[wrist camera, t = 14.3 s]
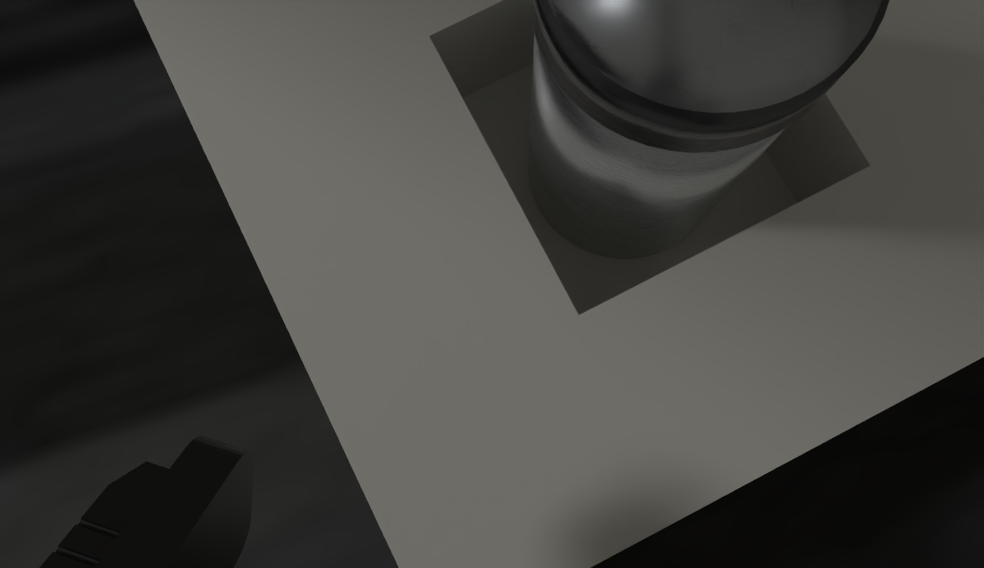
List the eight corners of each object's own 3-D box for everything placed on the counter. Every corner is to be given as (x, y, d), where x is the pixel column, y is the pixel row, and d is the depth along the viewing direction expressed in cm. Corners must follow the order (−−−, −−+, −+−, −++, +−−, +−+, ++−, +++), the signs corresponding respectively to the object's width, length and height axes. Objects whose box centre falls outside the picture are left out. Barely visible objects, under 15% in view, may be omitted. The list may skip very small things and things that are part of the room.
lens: (490, 126, 22) (469, -118, 12) (661, 41, 22) (775, -265, 12) (582, 297, 21) (642, 182, 11) (759, 206, 21) (965, 17, 12)
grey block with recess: (215, 87, 25) (123, -24, 19) (742, -164, 26) (812, -343, 20) (456, 591, 22) (437, 650, 16) (1033, 285, 23) (1214, 233, 17)
